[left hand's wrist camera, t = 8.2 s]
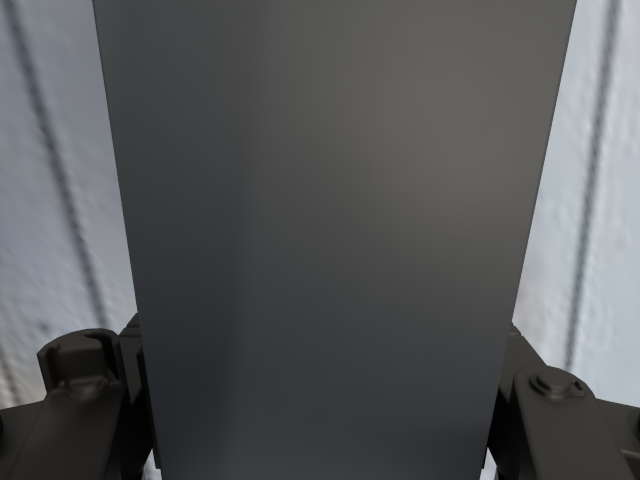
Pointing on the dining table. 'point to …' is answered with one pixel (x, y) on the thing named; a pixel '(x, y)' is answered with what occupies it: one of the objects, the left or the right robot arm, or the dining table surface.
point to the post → (328, 223)
